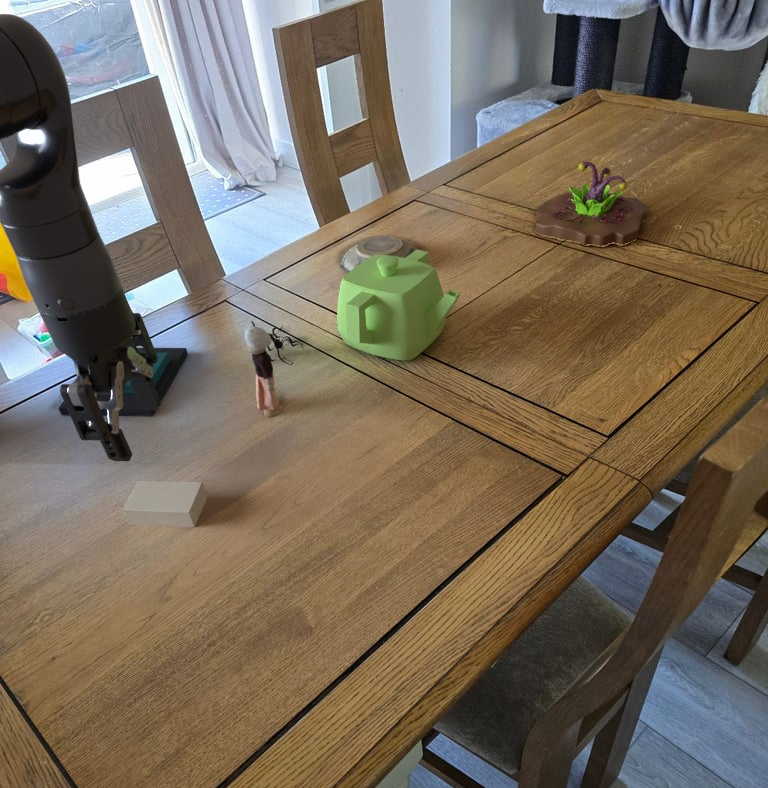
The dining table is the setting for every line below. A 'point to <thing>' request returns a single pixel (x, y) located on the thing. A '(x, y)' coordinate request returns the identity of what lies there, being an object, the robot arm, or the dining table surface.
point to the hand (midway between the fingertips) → (137, 432)
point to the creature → (279, 343)
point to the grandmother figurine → (263, 371)
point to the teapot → (393, 306)
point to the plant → (592, 213)
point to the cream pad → (165, 503)
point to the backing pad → (162, 379)
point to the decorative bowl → (376, 250)
